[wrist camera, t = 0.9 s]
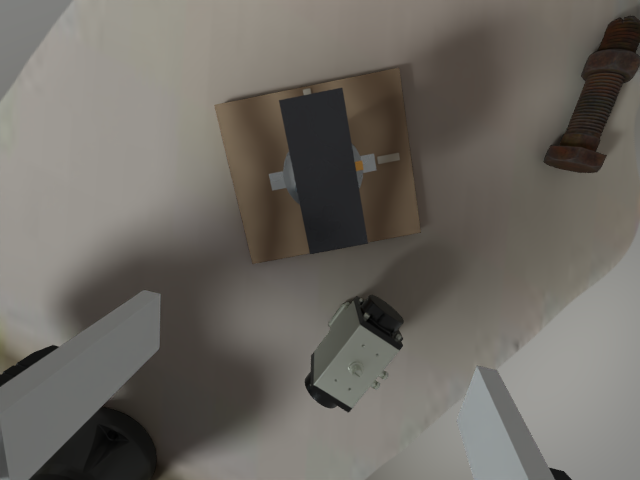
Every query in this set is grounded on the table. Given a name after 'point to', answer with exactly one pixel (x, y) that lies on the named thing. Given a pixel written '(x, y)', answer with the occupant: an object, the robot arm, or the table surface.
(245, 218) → the base
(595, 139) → the bolt
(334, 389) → the pneumatic valve
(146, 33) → the table surface
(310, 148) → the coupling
